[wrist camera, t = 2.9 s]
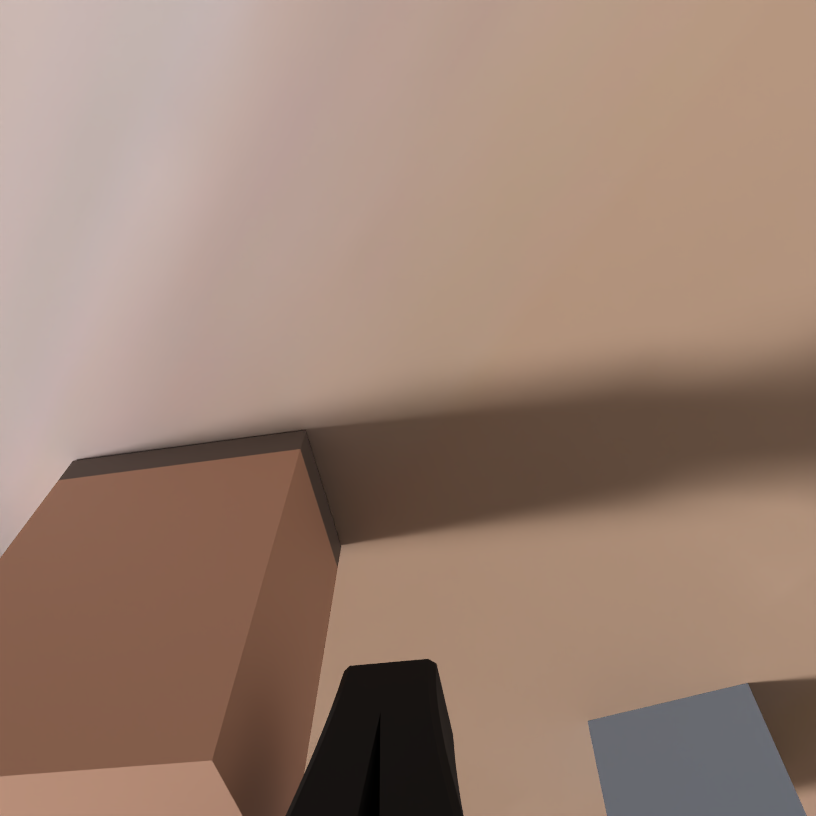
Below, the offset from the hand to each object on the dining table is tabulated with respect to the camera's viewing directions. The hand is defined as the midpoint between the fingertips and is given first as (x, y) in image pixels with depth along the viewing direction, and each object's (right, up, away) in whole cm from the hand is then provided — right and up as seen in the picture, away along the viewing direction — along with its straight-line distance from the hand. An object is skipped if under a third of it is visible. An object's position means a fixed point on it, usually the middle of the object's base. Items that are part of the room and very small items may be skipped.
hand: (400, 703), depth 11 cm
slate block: (+8, -5, +10) cm, 14 cm away
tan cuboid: (-4, +2, +5) cm, 7 cm away
